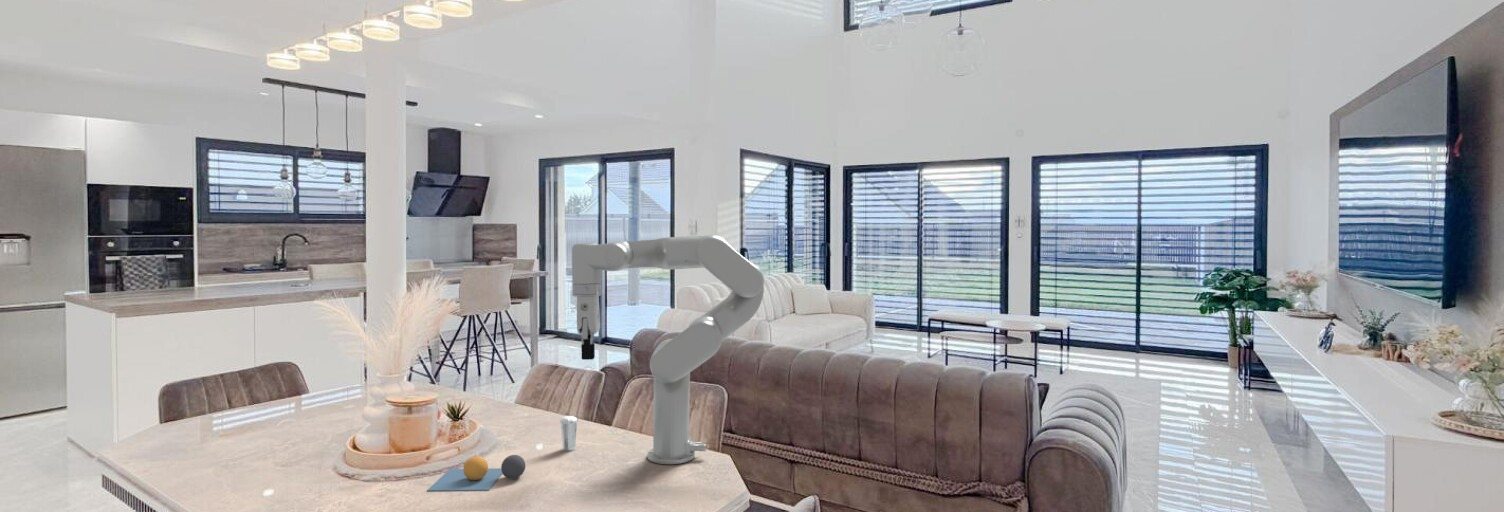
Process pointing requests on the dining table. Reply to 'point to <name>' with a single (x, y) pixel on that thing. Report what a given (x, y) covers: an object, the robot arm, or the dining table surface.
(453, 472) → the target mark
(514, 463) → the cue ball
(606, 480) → the dining table surface
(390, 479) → the dining table surface
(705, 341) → the robot arm
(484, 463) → the object ball
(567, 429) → the milkshake
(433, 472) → the dining table surface
